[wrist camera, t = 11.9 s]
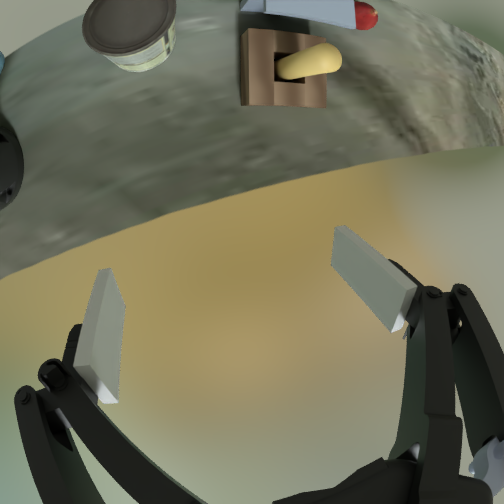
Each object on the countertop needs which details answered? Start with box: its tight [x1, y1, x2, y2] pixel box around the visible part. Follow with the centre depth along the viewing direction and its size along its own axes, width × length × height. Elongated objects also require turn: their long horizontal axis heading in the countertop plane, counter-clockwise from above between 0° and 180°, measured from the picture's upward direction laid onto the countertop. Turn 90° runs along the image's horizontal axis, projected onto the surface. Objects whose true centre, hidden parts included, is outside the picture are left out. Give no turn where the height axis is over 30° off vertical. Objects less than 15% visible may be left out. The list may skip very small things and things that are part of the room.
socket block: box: [240, 28, 326, 108], centre depth 35 cm, size 12×12×5 cm
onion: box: [354, 2, 378, 30], centre depth 30 cm, size 6×6×8 cm
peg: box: [274, 43, 342, 82], centre depth 30 cm, size 4×4×16 cm
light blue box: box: [240, 0, 356, 29], centre depth 27 cm, size 12×7×13 cm, turn 91°
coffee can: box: [82, 0, 176, 72], centre depth 23 cm, size 10×10×14 cm
